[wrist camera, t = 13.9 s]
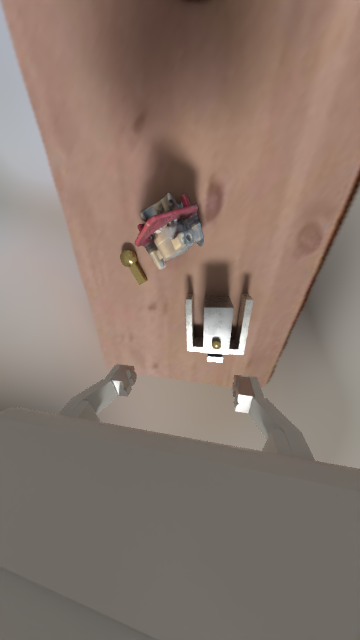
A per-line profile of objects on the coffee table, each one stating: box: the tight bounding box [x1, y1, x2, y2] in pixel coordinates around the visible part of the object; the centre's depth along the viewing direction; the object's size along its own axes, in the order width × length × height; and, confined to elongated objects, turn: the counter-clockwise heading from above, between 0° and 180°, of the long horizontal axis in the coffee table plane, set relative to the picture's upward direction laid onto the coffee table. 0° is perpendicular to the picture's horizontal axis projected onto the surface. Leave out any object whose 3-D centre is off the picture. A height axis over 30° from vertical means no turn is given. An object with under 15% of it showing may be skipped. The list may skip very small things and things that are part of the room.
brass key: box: [120, 250, 147, 285], centre depth 31 cm, size 7×3×2 cm, turn 28°
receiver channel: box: [185, 294, 253, 362], centre depth 30 cm, size 13×12×7 cm
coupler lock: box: [203, 296, 234, 354], centre depth 30 cm, size 10×5×8 cm, turn 3°
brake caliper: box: [135, 193, 204, 270], centre depth 24 cm, size 11×11×12 cm
